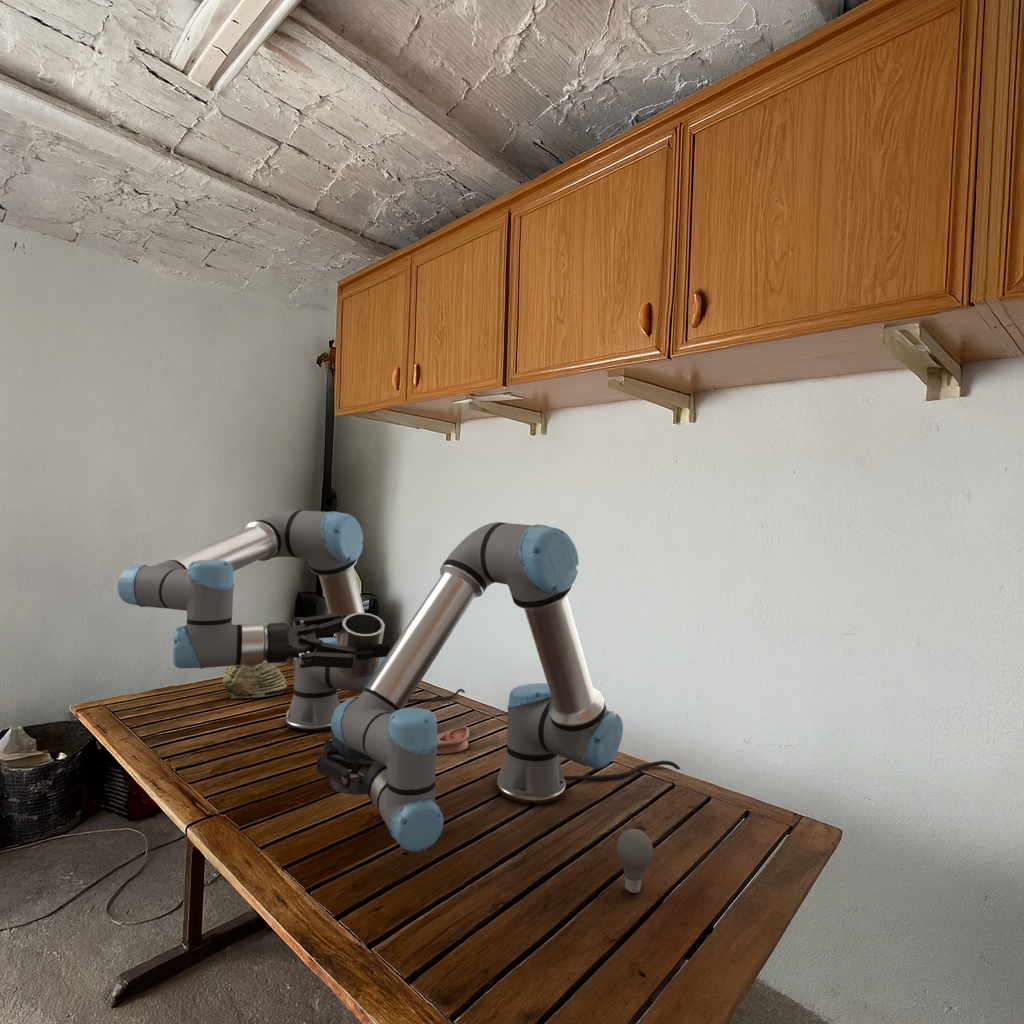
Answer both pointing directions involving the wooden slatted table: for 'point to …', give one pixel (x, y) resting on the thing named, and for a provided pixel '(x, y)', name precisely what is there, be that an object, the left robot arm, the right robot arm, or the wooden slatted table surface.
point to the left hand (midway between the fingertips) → (383, 637)
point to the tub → (352, 754)
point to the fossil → (254, 680)
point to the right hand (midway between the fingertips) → (358, 741)
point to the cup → (361, 641)
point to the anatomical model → (453, 740)
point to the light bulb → (634, 857)
